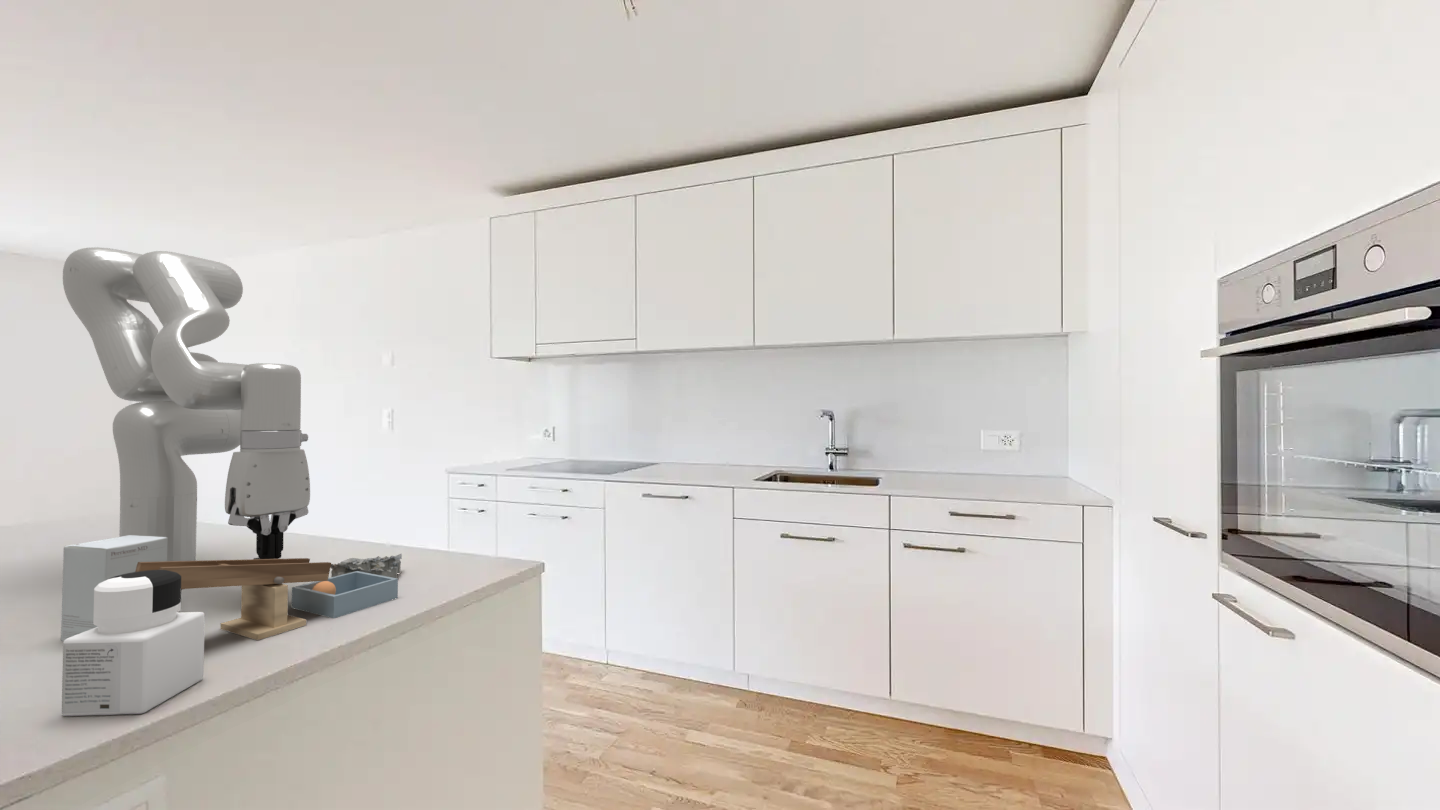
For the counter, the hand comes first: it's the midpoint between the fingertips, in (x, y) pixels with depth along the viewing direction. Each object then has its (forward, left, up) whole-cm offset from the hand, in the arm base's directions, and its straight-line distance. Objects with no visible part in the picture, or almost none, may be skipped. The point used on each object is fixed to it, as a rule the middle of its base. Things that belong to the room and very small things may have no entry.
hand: (269, 557), depth 91 cm
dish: (+11, +5, -8) cm, 14 cm away
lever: (+6, -9, 0) cm, 11 cm away
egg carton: (+1, +15, -8) cm, 17 cm away
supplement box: (-4, -16, -7) cm, 18 cm away
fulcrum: (+11, -6, -7) cm, 14 cm away
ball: (+8, +4, -5) cm, 10 cm away
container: (+21, -23, -7) cm, 32 cm away
